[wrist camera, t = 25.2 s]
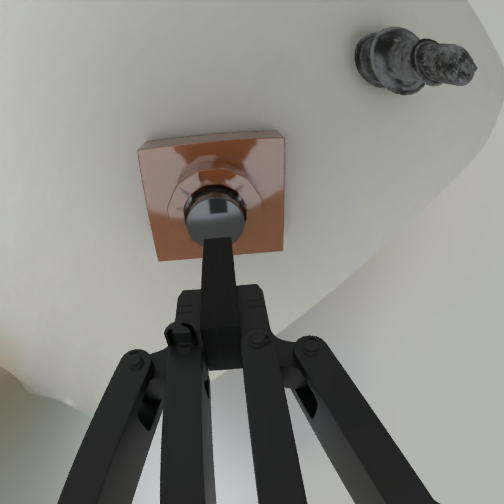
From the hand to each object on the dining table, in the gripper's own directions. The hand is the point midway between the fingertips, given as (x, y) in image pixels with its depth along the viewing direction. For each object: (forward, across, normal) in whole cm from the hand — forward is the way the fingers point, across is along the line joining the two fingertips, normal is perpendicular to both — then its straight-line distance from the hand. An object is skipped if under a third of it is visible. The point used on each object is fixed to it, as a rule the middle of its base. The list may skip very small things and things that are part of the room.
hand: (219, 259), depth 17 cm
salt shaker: (+11, +15, +12) cm, 22 cm away
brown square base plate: (+11, 0, 0) cm, 11 cm away
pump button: (+6, 0, 0) cm, 6 cm away
